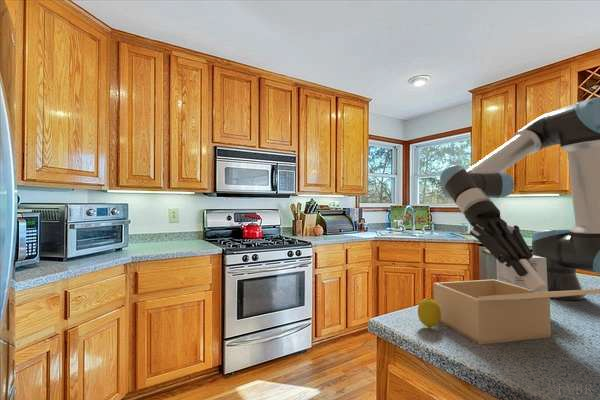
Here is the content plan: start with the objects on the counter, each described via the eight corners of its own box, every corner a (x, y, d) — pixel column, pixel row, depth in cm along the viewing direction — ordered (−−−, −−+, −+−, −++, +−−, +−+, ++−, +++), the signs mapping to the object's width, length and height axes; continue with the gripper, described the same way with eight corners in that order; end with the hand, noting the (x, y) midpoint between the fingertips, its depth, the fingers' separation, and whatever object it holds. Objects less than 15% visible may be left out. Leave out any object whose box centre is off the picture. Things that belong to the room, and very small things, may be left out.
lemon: (431, 334, 71) (430, 301, 72) (413, 326, 76) (412, 296, 76) (446, 330, 74) (445, 298, 74) (427, 322, 79) (427, 293, 79)
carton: (494, 313, 85) (493, 279, 86) (551, 336, 70) (549, 295, 70) (434, 318, 82) (433, 282, 82) (479, 344, 66) (478, 300, 66)
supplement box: (550, 317, 82) (548, 257, 83) (514, 316, 83) (513, 257, 84) (528, 306, 92) (526, 252, 92) (496, 305, 93) (495, 252, 93)
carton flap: (549, 291, 70) (606, 288, 59) (550, 295, 70) (608, 293, 59) (477, 296, 66) (524, 294, 55) (478, 301, 66) (526, 300, 55)
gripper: (490, 218, 82) (552, 295, 65) (449, 218, 80) (502, 298, 63) (507, 199, 77) (578, 277, 60) (463, 198, 74) (525, 280, 58)
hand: (539, 288), depth 61 cm, fingers closed
